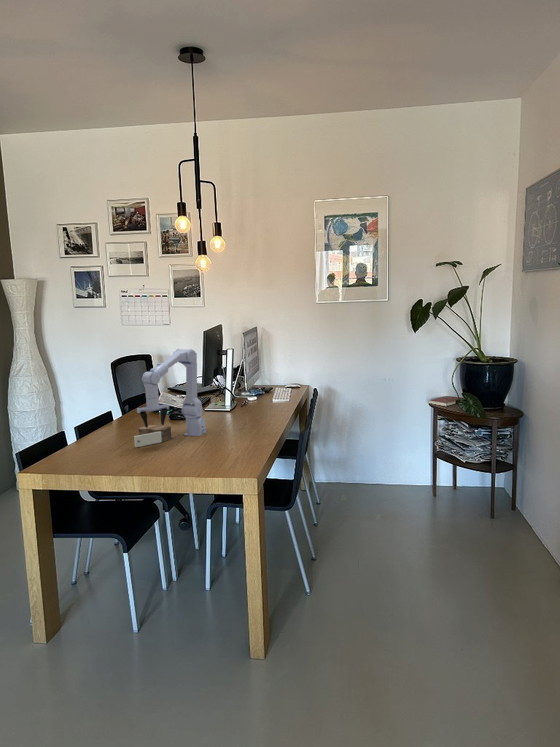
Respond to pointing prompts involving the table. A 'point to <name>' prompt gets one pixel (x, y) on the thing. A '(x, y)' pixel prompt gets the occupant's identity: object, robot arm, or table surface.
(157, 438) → the door
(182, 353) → the robot arm
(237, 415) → the table surface
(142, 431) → the cabinet
